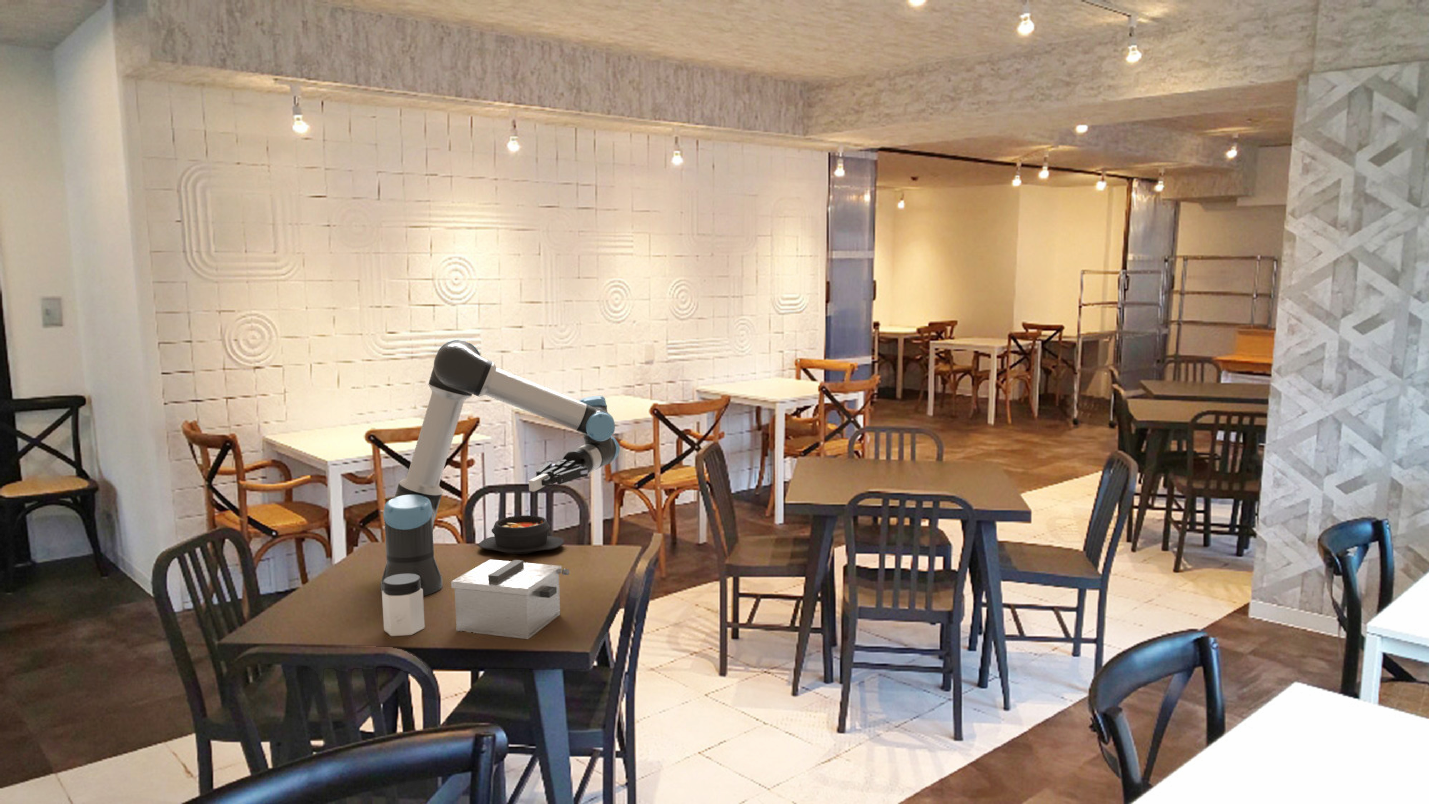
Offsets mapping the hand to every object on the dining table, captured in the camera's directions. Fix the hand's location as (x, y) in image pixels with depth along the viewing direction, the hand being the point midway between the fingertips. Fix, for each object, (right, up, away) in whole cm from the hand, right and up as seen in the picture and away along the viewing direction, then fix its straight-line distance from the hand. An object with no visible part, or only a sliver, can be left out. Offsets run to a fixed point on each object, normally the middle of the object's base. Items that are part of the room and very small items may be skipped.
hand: (531, 486), depth 238 cm
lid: (-2, -20, -16) cm, 26 cm away
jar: (-26, -31, -18) cm, 44 cm away
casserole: (-11, -23, +45) cm, 52 cm away
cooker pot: (-2, -30, -14) cm, 33 cm away
